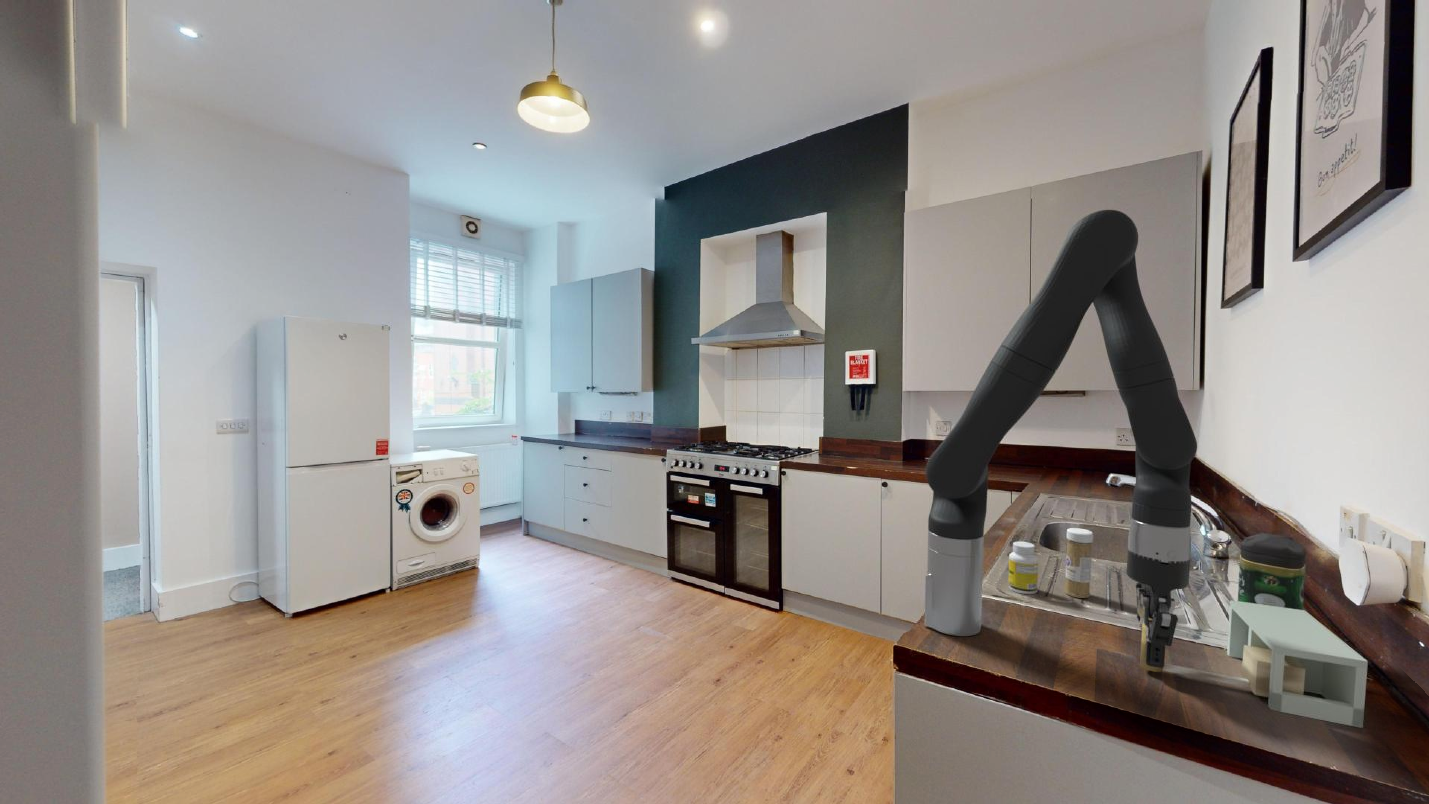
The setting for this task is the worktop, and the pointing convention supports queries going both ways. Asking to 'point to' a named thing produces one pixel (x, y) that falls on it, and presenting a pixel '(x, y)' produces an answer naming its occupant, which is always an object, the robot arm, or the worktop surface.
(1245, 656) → the block
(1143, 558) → the robot arm
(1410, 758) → the worktop surface
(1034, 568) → the supplement bottle
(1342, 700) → the shelf cubby
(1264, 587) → the coffee jar
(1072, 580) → the spice jar
